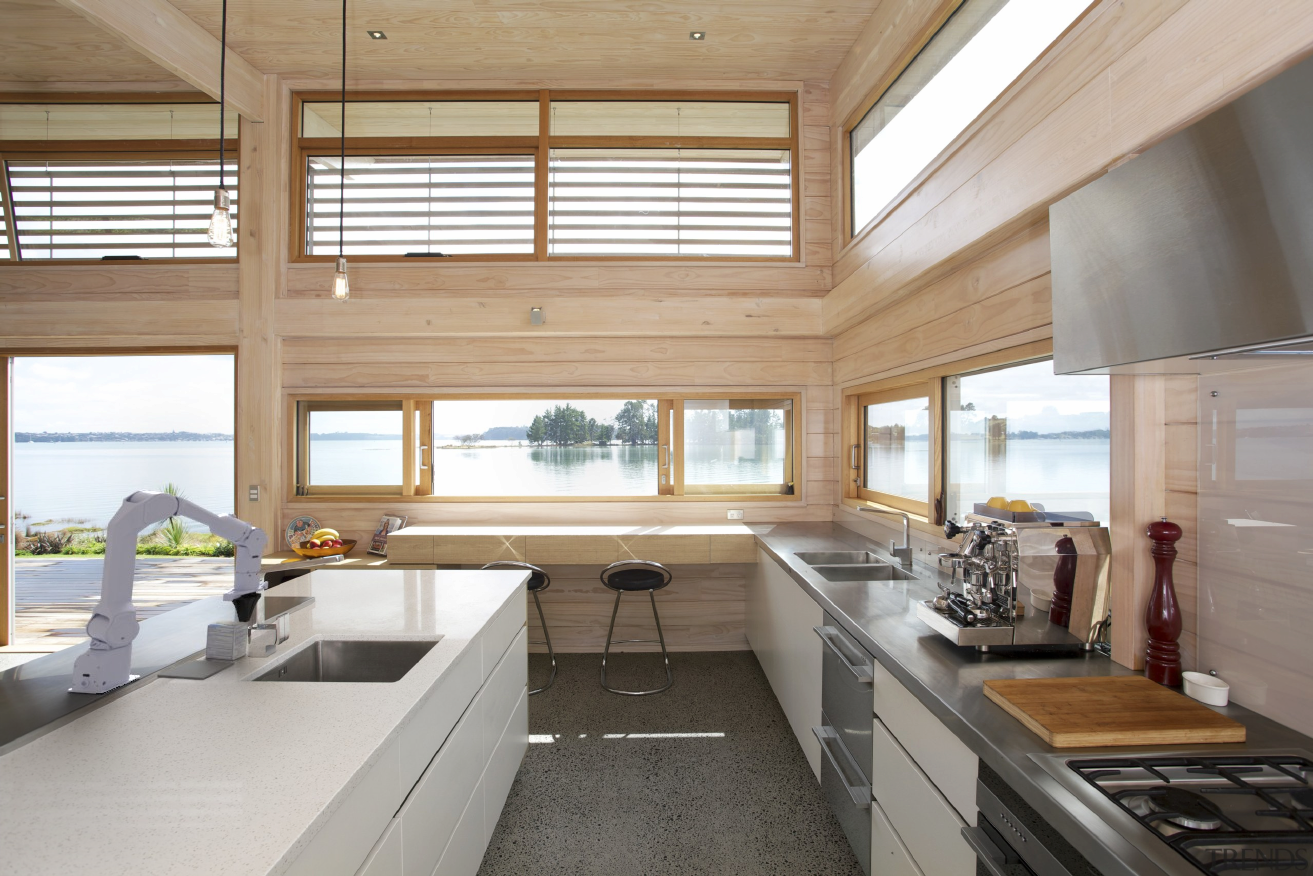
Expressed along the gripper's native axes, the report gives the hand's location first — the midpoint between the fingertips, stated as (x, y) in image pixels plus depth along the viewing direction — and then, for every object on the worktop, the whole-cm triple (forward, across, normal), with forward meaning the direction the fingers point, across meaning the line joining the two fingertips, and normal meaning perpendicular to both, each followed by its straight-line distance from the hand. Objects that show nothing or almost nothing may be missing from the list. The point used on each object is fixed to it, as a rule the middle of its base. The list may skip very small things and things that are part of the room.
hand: (244, 621), depth 160 cm
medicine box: (+8, -6, 0) cm, 10 cm away
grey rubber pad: (+7, -16, 0) cm, 17 cm away
